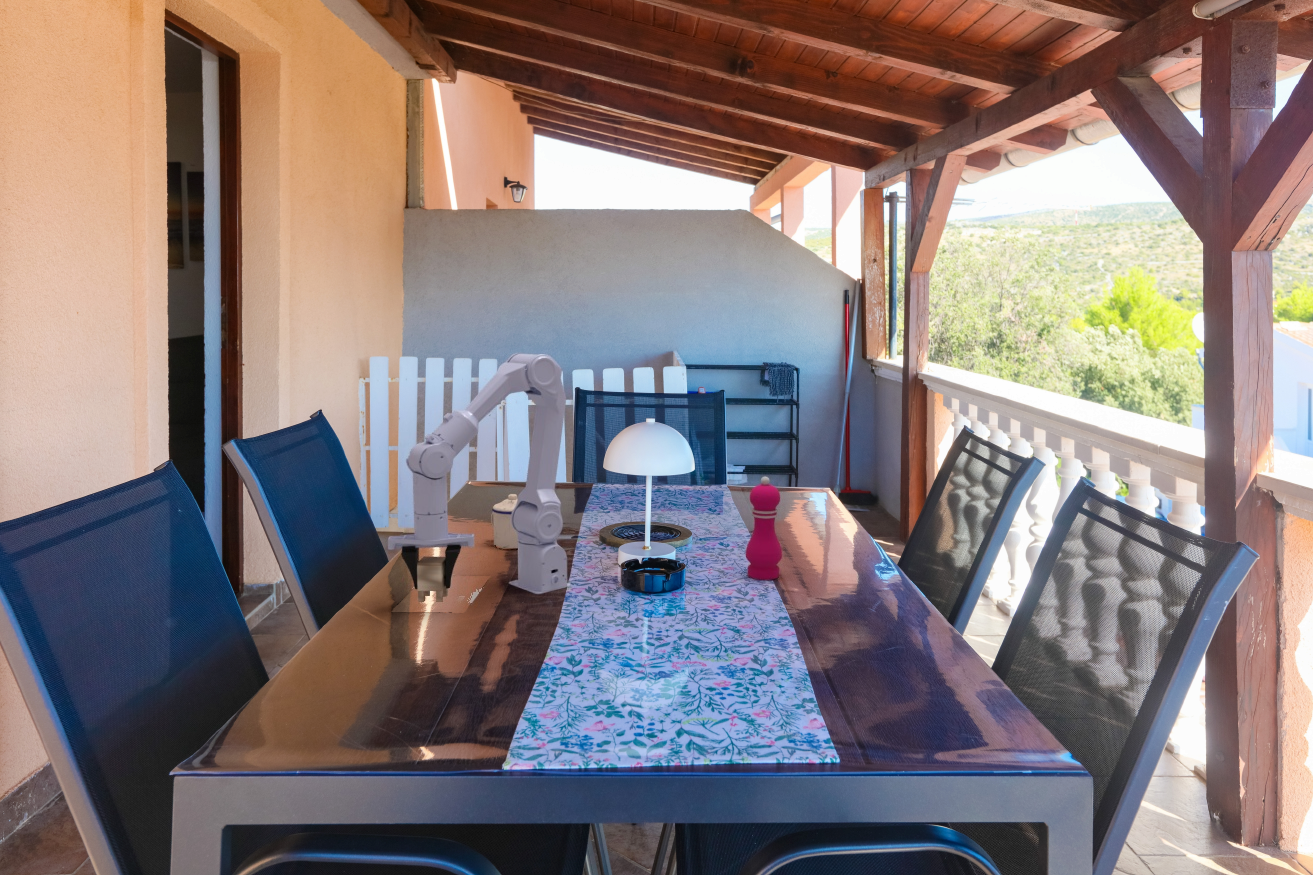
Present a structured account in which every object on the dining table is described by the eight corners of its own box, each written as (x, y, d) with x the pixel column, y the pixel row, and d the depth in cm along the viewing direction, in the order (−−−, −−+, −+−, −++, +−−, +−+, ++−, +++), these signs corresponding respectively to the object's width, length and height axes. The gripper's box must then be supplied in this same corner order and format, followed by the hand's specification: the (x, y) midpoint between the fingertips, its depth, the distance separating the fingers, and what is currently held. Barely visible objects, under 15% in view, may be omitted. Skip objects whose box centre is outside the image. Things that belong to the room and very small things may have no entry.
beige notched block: (448, 594, 158) (447, 556, 157) (441, 602, 154) (441, 563, 153) (424, 594, 158) (423, 556, 157) (417, 601, 154) (416, 562, 153)
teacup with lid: (542, 545, 200) (541, 494, 198) (510, 552, 193) (509, 500, 191) (508, 536, 208) (507, 487, 206) (476, 543, 201) (475, 493, 199)
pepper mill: (780, 581, 172) (782, 480, 170) (743, 579, 174) (745, 479, 171) (782, 571, 179) (785, 474, 177) (747, 569, 181) (748, 472, 178)
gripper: (474, 505, 159) (476, 579, 161) (391, 507, 157) (393, 582, 159) (472, 514, 152) (473, 590, 154) (384, 516, 150) (387, 594, 152)
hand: (433, 587), depth 156 cm, fingers closed on beige notched block, 5 cm apart
